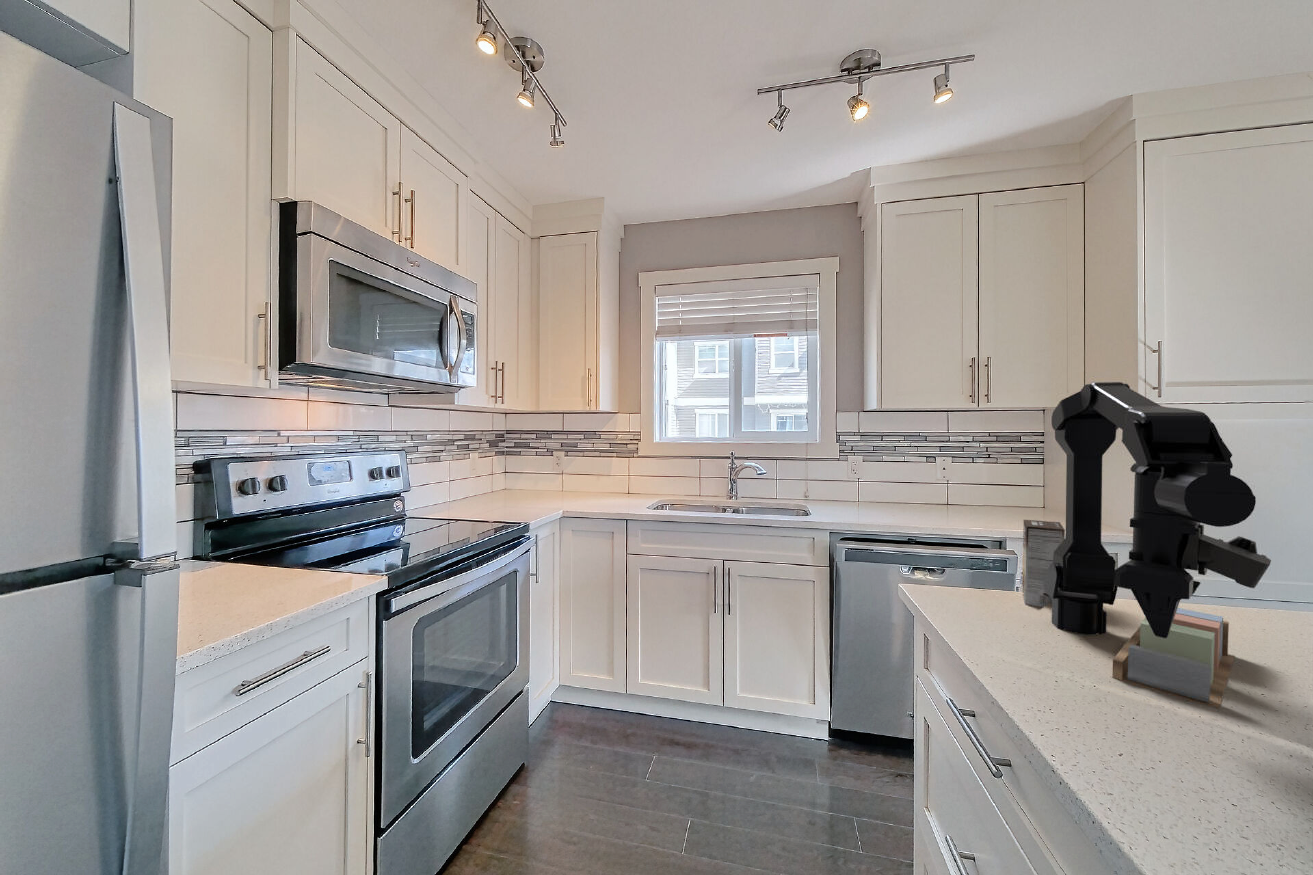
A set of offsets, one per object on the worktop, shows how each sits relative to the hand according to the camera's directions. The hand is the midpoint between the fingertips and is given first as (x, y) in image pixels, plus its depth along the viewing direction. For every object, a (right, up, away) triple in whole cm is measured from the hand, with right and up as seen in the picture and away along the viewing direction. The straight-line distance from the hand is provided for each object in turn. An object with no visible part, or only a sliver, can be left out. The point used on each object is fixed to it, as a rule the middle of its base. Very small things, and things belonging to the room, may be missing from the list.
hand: (1161, 636), depth 64 cm
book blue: (+20, -8, +16) cm, 26 cm away
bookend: (+4, -8, +4) cm, 10 cm away
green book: (+10, -8, +8) cm, 15 cm away
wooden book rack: (+13, -9, +11) cm, 19 cm away
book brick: (+17, -8, +13) cm, 23 cm away
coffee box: (+16, -9, +41) cm, 45 cm away
